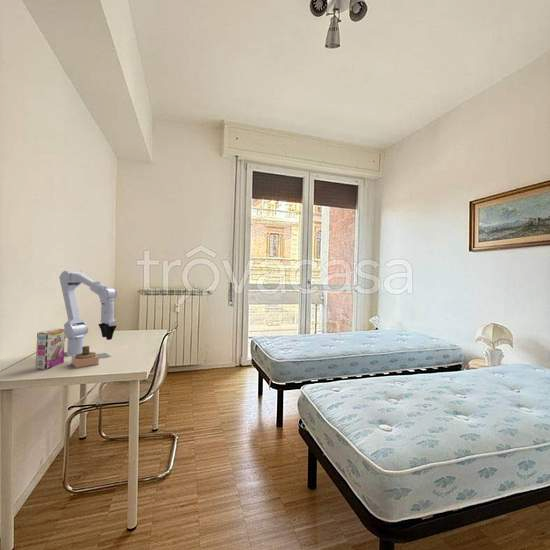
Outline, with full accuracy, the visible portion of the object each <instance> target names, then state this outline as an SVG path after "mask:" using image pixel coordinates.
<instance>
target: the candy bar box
mask: <svg viewBox="0 0 550 550" xmlns="http://www.w3.org/2000/svg"><path fill="white" fill-rule="evenodd" d="M65 338H66V336H65V329H64V328H53V329H48V330H43V331H39V332H37V336H36V356H35V370H38V369H46V370H48V368H49V369H51V368H52V367H55V366H58V365H61V364H64V363H65V362H64V361H65V344H66V343H65V340H66V339H65Z"/></svg>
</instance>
